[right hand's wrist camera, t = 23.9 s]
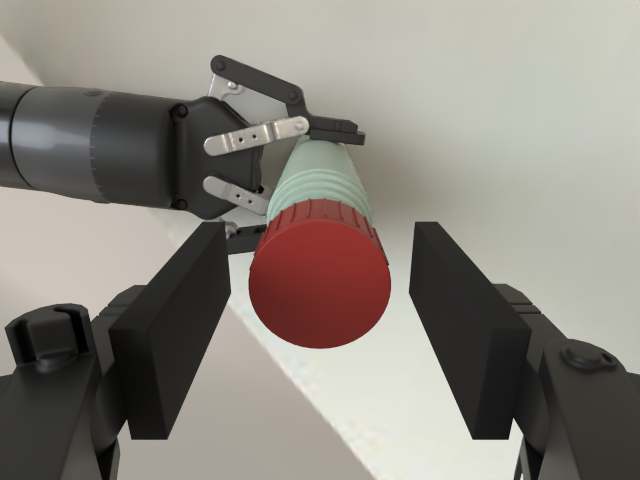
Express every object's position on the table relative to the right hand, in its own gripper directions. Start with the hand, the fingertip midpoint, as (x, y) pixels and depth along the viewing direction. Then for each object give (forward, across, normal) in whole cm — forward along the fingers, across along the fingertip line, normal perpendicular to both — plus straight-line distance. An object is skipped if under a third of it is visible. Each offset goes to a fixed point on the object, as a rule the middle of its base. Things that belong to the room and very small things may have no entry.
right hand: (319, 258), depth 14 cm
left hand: (+15, -3, 0) cm, 16 cm away
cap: (-2, 0, 0) cm, 2 cm away
